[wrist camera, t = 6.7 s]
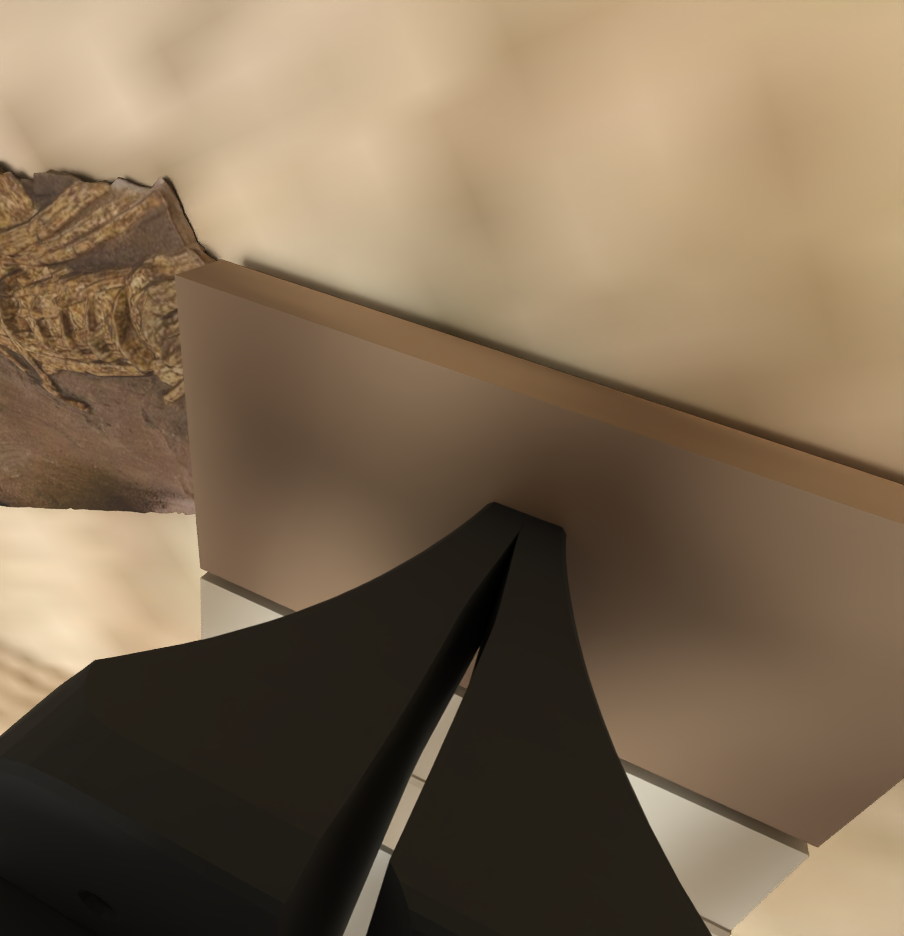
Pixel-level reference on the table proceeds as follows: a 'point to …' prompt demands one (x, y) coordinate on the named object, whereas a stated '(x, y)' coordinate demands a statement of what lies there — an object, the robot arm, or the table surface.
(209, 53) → the table surface
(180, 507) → the fossil skeleton slab
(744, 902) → the ash board
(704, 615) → the walnut plank
